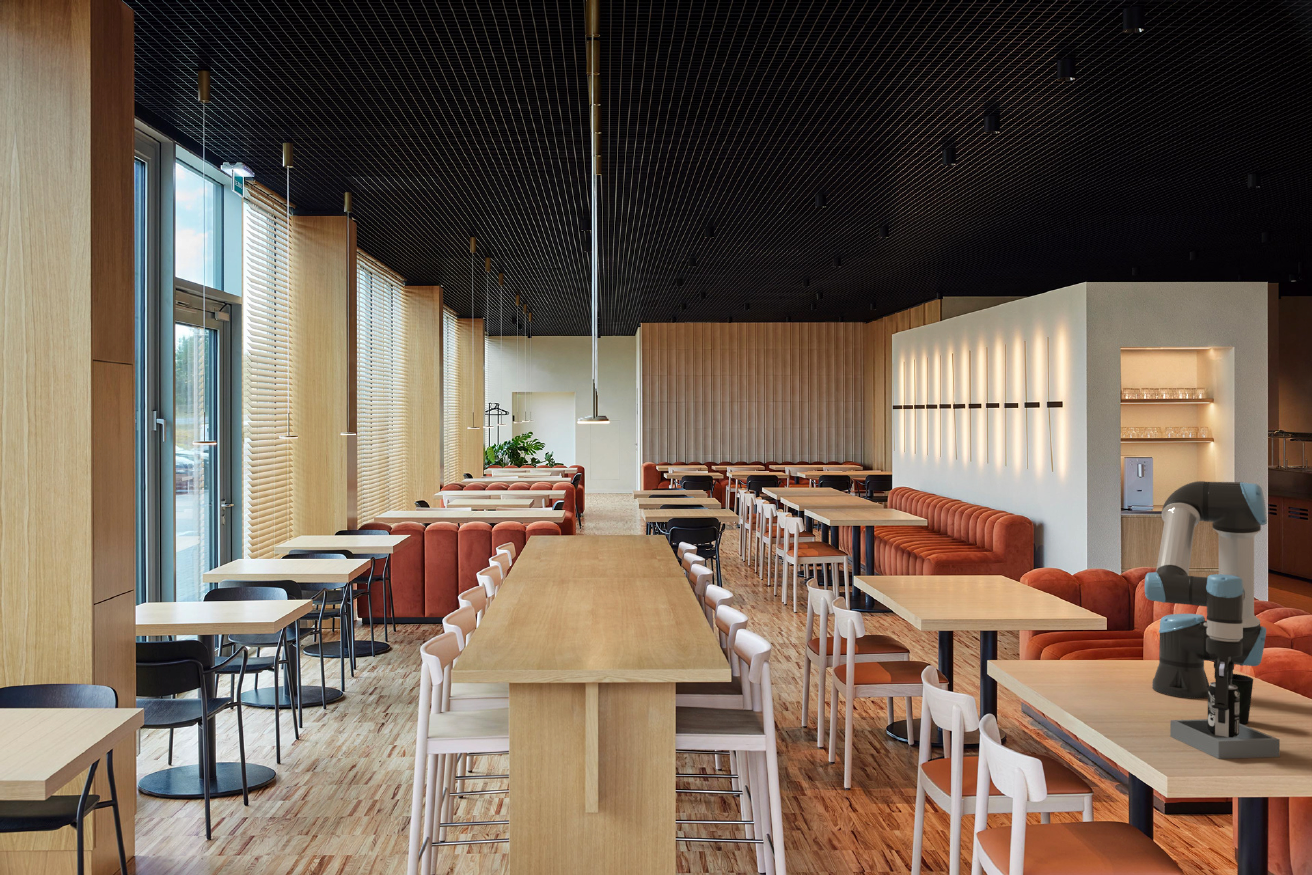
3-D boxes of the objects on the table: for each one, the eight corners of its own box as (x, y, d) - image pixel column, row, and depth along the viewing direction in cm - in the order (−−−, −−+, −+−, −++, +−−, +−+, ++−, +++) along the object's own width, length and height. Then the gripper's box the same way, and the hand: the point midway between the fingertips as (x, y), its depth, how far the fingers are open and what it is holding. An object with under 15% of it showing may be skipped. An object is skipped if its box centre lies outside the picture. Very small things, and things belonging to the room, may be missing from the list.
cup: (1242, 727, 231) (1242, 681, 231) (1212, 719, 238) (1213, 674, 238) (1259, 723, 235) (1259, 678, 235) (1229, 715, 242) (1229, 671, 242)
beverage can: (1201, 729, 219) (1201, 681, 219) (1225, 729, 220) (1226, 681, 220) (1220, 738, 213) (1220, 688, 213) (1245, 738, 213) (1246, 688, 213)
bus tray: (1227, 734, 225) (1227, 718, 225) (1279, 756, 209) (1279, 739, 209) (1170, 736, 223) (1170, 720, 223) (1218, 758, 207) (1218, 741, 207)
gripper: (1210, 629, 227) (1209, 719, 226) (1201, 642, 211) (1200, 738, 211) (1245, 634, 222) (1244, 725, 222) (1239, 647, 206) (1238, 745, 206)
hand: (1223, 731), depth 216 cm, fingers closed on beverage can, 7 cm apart
